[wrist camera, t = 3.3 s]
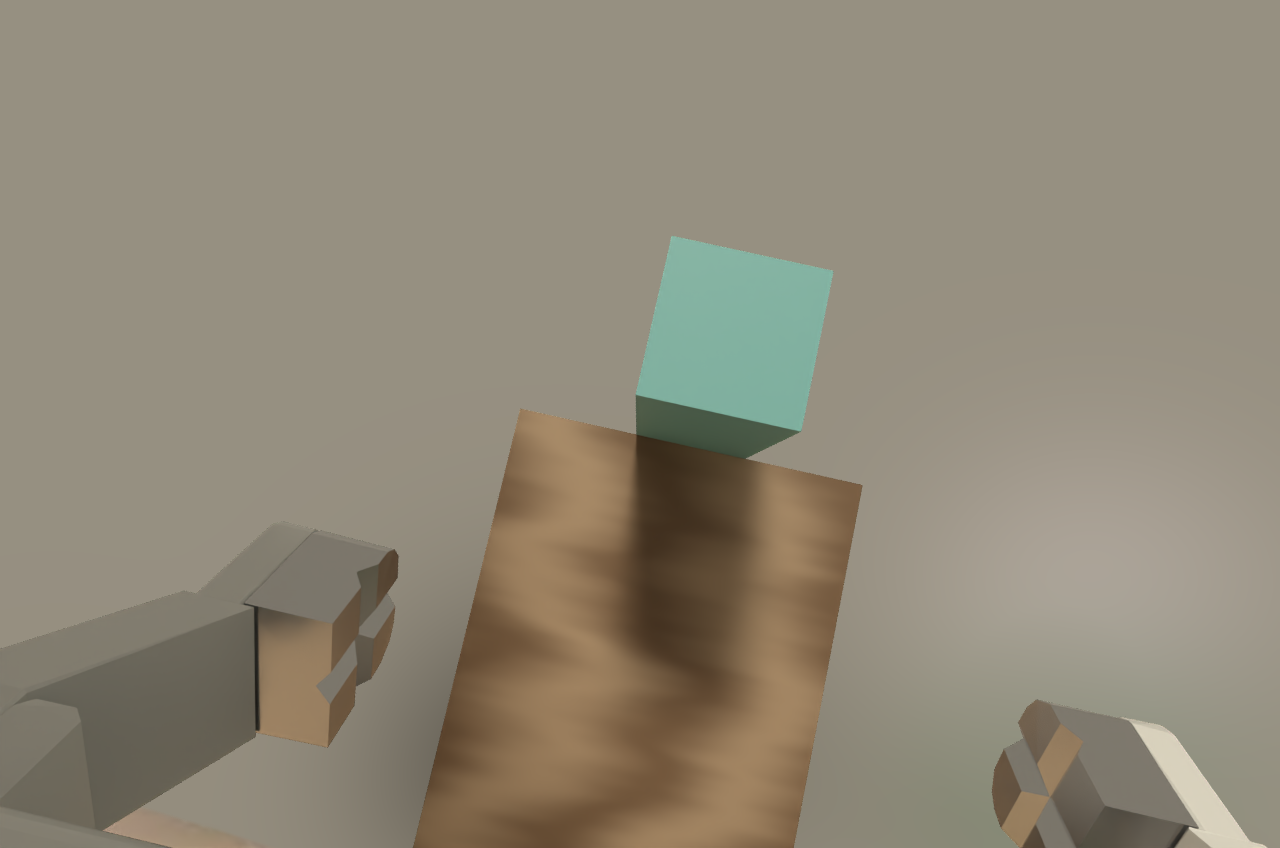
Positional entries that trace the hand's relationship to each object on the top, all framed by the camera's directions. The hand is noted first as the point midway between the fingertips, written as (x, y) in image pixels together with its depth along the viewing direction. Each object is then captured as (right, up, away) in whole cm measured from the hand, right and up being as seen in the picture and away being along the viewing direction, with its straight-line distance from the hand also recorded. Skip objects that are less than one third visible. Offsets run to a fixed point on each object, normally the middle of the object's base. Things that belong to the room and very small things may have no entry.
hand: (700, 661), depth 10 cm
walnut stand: (-5, -24, +18) cm, 30 cm away
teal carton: (+1, +2, +18) cm, 18 cm away
